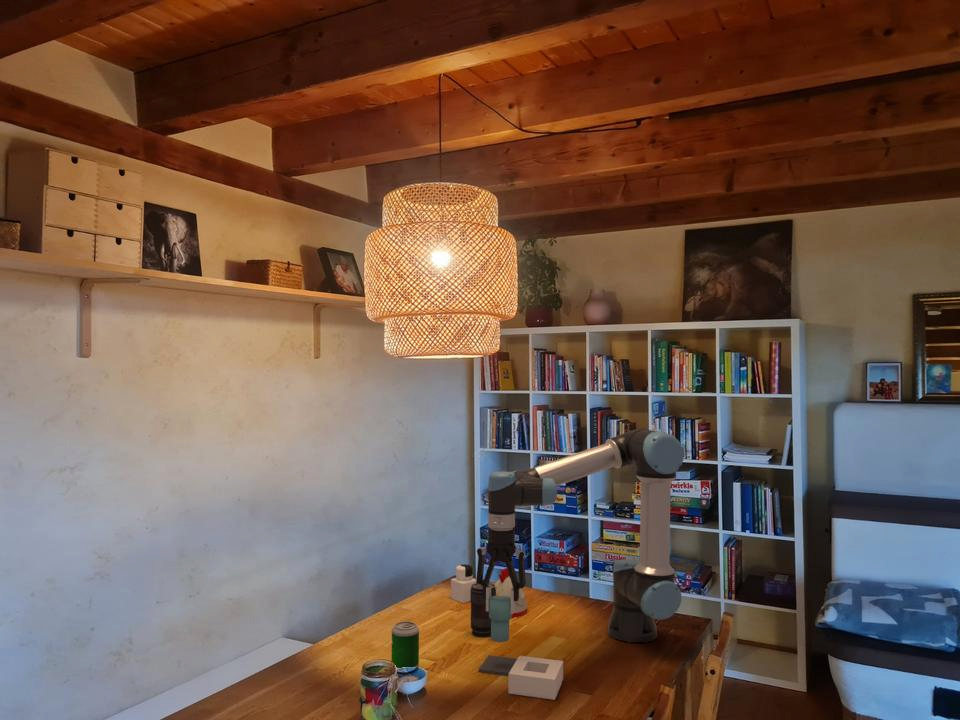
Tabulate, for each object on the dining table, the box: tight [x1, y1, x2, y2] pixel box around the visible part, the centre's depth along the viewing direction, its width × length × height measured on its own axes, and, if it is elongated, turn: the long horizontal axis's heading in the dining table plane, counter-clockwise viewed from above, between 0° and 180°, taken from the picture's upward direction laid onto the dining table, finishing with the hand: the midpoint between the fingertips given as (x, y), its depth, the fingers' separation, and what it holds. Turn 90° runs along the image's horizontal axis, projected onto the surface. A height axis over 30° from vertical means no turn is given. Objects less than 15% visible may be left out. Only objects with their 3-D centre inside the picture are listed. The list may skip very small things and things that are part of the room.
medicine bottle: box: [450, 564, 477, 604], centre depth 255 cm, size 7×7×12 cm
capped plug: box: [489, 596, 513, 643], centre depth 196 cm, size 6×6×11 cm
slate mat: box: [478, 654, 518, 677], centre depth 196 cm, size 10×10×1 cm
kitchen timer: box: [493, 567, 528, 619], centre depth 242 cm, size 14×14×15 cm
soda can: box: [391, 621, 420, 668], centre depth 195 cm, size 8×8×12 cm
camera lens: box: [469, 582, 496, 638], centre depth 222 cm, size 8×8×15 cm
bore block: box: [507, 655, 564, 701], centre depth 184 cm, size 12×12×5 cm
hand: (500, 610), depth 196 cm, fingers closed on capped plug, 6 cm apart
